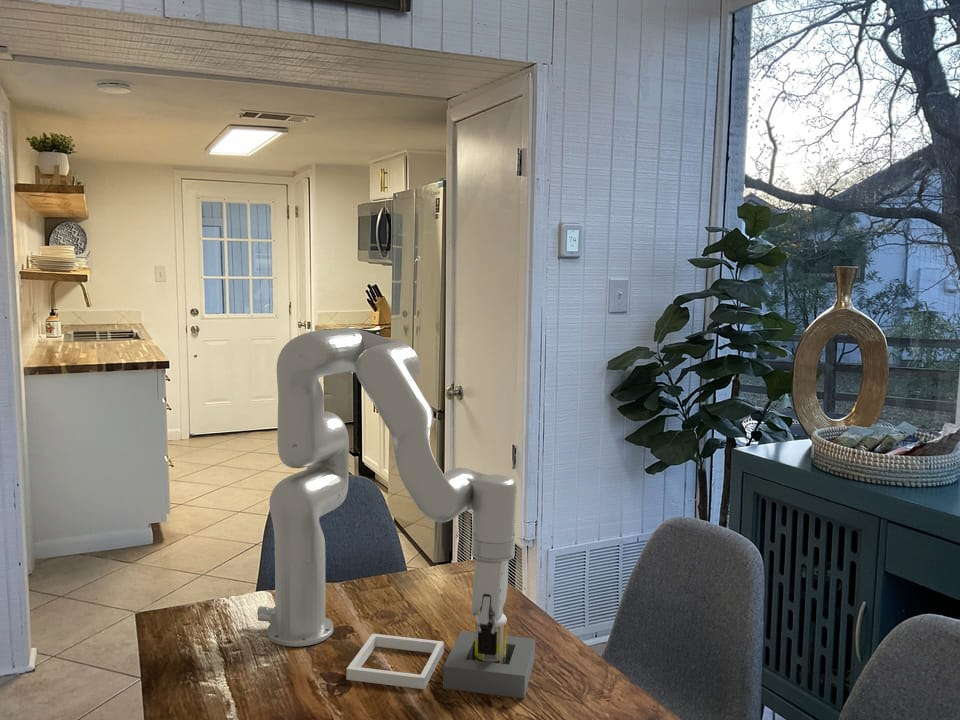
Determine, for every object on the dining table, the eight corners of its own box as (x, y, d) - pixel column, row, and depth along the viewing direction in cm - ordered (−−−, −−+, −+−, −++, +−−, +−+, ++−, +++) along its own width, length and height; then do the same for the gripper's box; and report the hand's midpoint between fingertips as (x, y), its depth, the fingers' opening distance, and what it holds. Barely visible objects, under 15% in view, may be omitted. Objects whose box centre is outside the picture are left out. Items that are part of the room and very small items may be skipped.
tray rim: (346, 679, 140) (346, 668, 140) (372, 643, 154) (372, 633, 154) (424, 689, 138) (424, 678, 137) (443, 651, 151) (444, 641, 151)
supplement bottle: (492, 650, 147) (494, 596, 146) (512, 662, 143) (513, 607, 142) (468, 658, 144) (469, 603, 143) (487, 671, 139) (488, 614, 138)
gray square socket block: (443, 688, 138) (443, 666, 137) (460, 651, 152) (461, 630, 151) (524, 698, 135) (524, 675, 135) (534, 659, 149) (535, 638, 149)
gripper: (481, 529, 150) (478, 622, 152) (461, 561, 133) (459, 666, 135) (521, 533, 149) (518, 627, 151) (506, 566, 132) (503, 671, 134)
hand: (490, 644), depth 143 cm, fingers closed on supplement bottle, 5 cm apart
